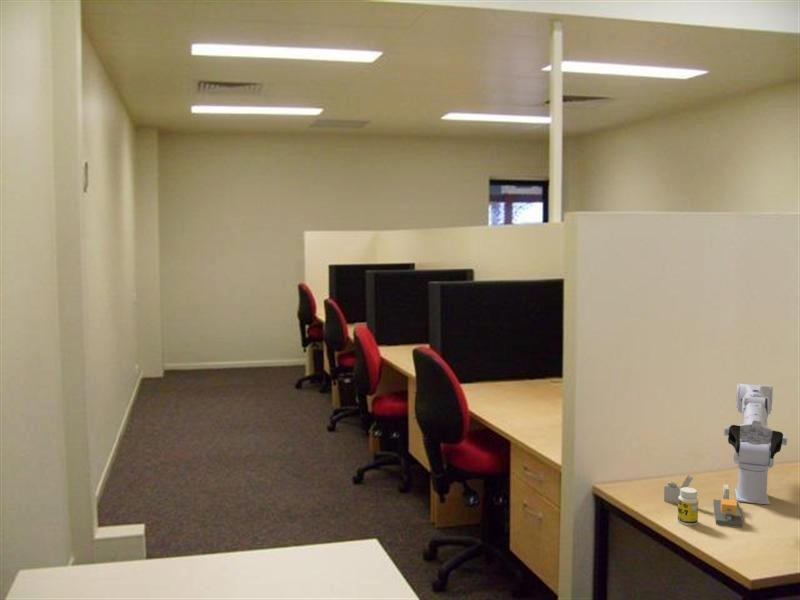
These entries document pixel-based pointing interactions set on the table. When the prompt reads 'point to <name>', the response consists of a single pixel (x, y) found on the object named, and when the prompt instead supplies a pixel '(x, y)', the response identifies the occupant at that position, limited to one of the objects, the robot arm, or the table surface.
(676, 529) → the table surface
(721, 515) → the linear slider rail
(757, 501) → the robot arm
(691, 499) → the supplement bottle
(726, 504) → the orange cube with peg
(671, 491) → the lighter
